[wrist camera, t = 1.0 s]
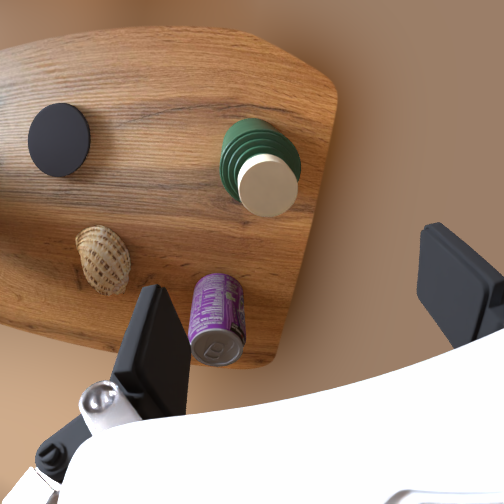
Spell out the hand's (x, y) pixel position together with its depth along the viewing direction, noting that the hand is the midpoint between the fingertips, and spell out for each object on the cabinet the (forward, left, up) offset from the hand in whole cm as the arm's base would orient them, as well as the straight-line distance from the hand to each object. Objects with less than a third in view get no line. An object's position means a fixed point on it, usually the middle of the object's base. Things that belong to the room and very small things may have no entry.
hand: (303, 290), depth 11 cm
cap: (0, 0, -13) cm, 13 cm away
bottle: (0, 0, -30) cm, 30 cm away
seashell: (+23, -10, -30) cm, 39 cm away
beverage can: (+20, +7, -30) cm, 37 cm away
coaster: (+11, -23, -30) cm, 39 cm away
